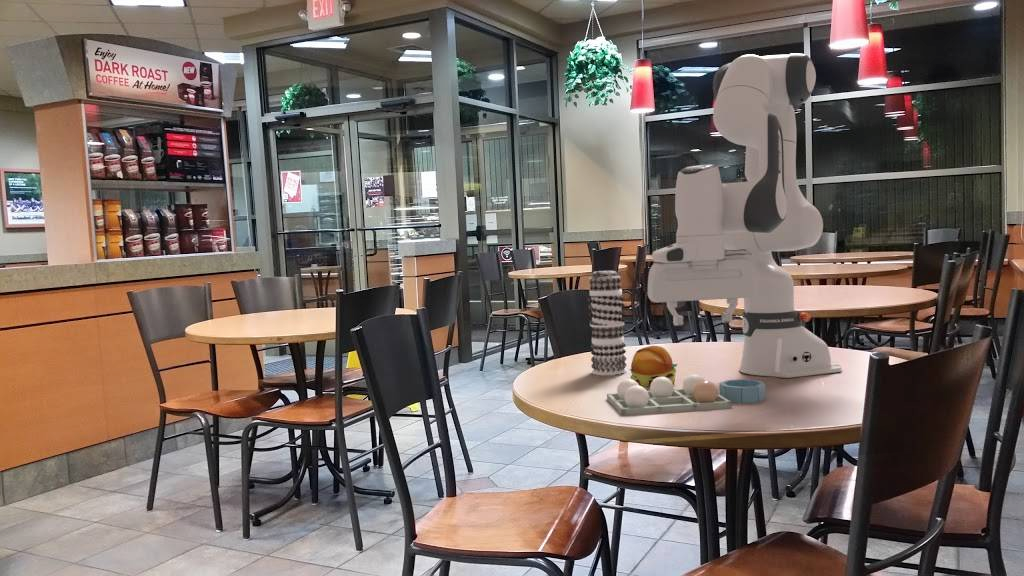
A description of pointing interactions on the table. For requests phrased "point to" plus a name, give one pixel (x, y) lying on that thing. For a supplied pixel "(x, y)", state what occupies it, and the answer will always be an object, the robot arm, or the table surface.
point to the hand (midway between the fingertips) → (702, 323)
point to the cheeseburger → (652, 365)
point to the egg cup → (743, 390)
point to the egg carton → (661, 397)
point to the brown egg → (705, 392)
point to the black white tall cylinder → (606, 323)
